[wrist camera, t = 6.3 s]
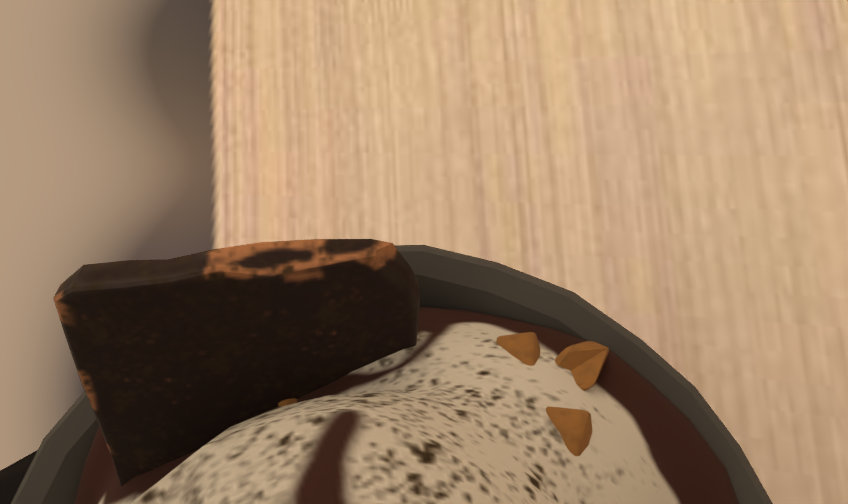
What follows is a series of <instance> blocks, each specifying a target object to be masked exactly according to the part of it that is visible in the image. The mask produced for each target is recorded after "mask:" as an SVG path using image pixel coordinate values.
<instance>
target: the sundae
mask: <svg viewBox="0 0 848 504" xmlns="http://www.w3.org/2000/svg"><path fill="white" fill-rule="evenodd" d="M54 301H55V305H56V308H57V311H58V314H59V317H60V320H61V323H62V327H63V330H64V333H65V336H66V339H67V342H68V345H69V348H70V351H71V354H72V356H73V359H74V362H75V365H76V368H77V371H78V374H79V377H80V380H81V382H82V385H83V387H84V389H85V391H84V392H83V394H82V395H81V396H80V397H79V398H78V399H77V400H76V402H75V403H74V404H73V405H72V406H71V407H70V409H69V410H68V411H67V412H66V413H65V414H64V416H63V417H62V418H61V419H60V420H59V421H58V423H57V424H56V425H55V426H54V427H53V429H52V430H51V431H50V432H49V433H48V434H47V435H46V437H45V438H44V439H43V441H42V443H41V445H40V447H39V449H38V451H37V453H36V455H35V457H34V459H33V461H32V463H31V465H30V467H29V469H28V471H27V473H26V475H25V477H24V479H23V480H22V482H21V484H20V486H19V488H18V490H17V492H16V494H15V496H14V498H13V500H12V502H11V504H773V503H772V502H771V500H770V498H769V496H768V495H767V493H766V491H765V489H764V488H763V486H762V484H761V482H760V481H759V479H758V477H757V475H756V474H755V472H754V470H753V468H752V466H751V465H750V463H749V461H748V459H747V458H746V456H745V454H744V452H743V451H742V449H741V447H740V445H739V444H738V443H737V441H736V440H735V439H734V438H733V436H732V435H731V434H730V432H729V431H728V430H727V428H726V427H725V426H724V424H723V423H722V422H721V420H720V419H719V418H718V416H717V415H716V414H715V413H714V411H713V410H712V409H711V407H710V406H709V405H708V403H707V402H706V401H705V399H704V398H703V397H702V395H701V394H700V393H699V391H698V390H697V389H696V387H694V386H693V385H692V384H691V383H690V382H689V381H688V380H686V379H685V378H684V377H683V376H682V375H681V374H680V373H679V372H677V371H676V370H675V369H674V368H673V367H672V366H671V365H670V364H668V363H667V362H666V361H665V360H664V359H663V358H662V357H660V356H659V355H658V354H657V353H656V352H655V351H654V350H653V349H651V348H650V347H649V346H648V345H647V344H646V343H645V342H644V341H642V340H641V339H640V338H638V337H637V336H635V335H634V334H633V333H631V332H630V331H628V330H627V329H625V328H624V327H623V326H621V325H620V324H618V323H617V322H615V321H614V320H612V319H611V318H610V317H608V316H607V315H605V314H604V313H602V312H601V311H600V310H598V309H597V308H595V307H594V306H592V305H591V304H590V303H588V302H587V301H585V300H584V299H582V298H581V297H580V296H578V295H577V294H575V293H574V292H572V291H569V290H567V289H564V288H561V287H559V286H556V285H554V284H551V283H549V282H546V281H543V280H541V279H538V278H536V277H533V276H531V275H528V274H525V273H523V272H520V271H518V270H515V269H512V268H510V267H507V266H505V265H502V264H500V263H497V262H492V261H488V260H484V259H480V258H476V257H472V256H467V255H463V254H459V253H455V252H451V251H447V250H442V249H438V248H434V247H430V246H426V245H401V246H394V245H393V243H389V242H384V241H378V240H373V239H314V240H296V241H279V242H262V243H254V244H247V245H241V246H234V247H228V248H220V249H214V250H209V251H205V252H200V253H196V254H191V255H187V256H182V257H178V258H173V259H168V260H129V261H118V262H109V263H98V264H88V265H83V266H82V267H81V268H80V269H78V270H77V271H76V272H75V273H74V274H73V275H71V276H70V277H69V278H68V279H67V280H66V281H64V282H63V283H62V284H61V285H60V287H59V289H58V290H57V292H56V294H55V296H54Z"/></svg>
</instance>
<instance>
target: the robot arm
mask: <svg viewBox="0 0 848 504" xmlns="http://www.w3.org/2000/svg"><path fill="white" fill-rule="evenodd" d="M37 451H38V450H37ZM37 451H35V452H33V453H32V454H30V455H28V456H26V457H24V458H23V459H21V460H19V461H17V462H16V463H14V464H12V465H10V466H8V467H6V468H5V469H3V470H1V471H0V504H11V502H12V500H13V498H14V496H15V494H16V492H17V490H18V488H19V486H20V484H21V482H22V480H23V479H24V477H25V475H26V473H27V471H28V469H29V467H30V465H31V463H32V461H33V459H34V457H35V455H36V453H37Z"/></svg>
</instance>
